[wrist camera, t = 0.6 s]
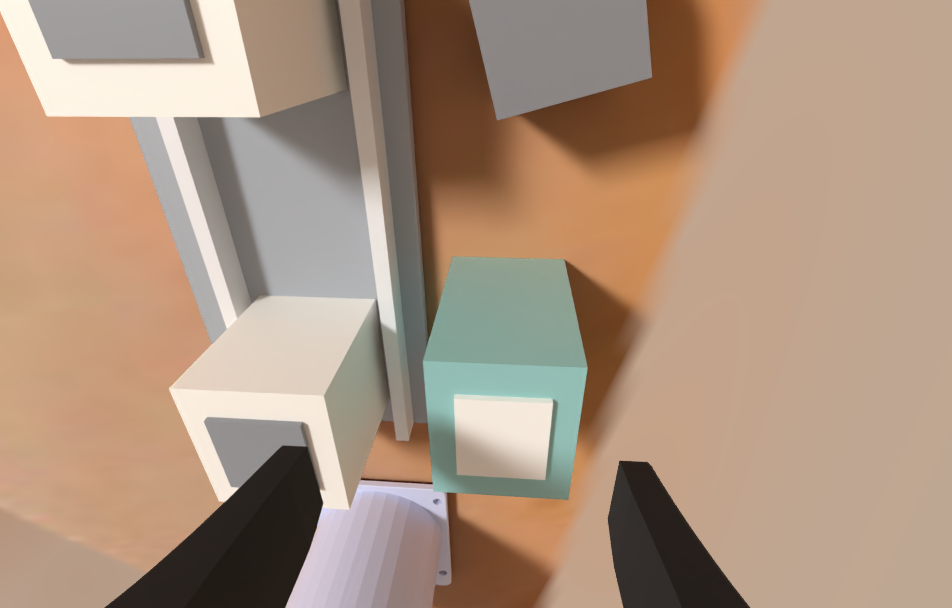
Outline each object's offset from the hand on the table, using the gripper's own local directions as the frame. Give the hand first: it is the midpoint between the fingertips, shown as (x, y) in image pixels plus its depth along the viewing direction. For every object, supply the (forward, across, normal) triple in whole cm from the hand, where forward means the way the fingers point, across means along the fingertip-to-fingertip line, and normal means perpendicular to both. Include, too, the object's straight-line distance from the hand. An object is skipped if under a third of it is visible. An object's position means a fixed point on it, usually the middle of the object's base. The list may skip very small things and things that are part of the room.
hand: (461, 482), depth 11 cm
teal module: (+10, -1, +1) cm, 10 cm away
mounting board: (+10, +8, -4) cm, 13 cm away
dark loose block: (+10, -2, -10) cm, 14 cm away
